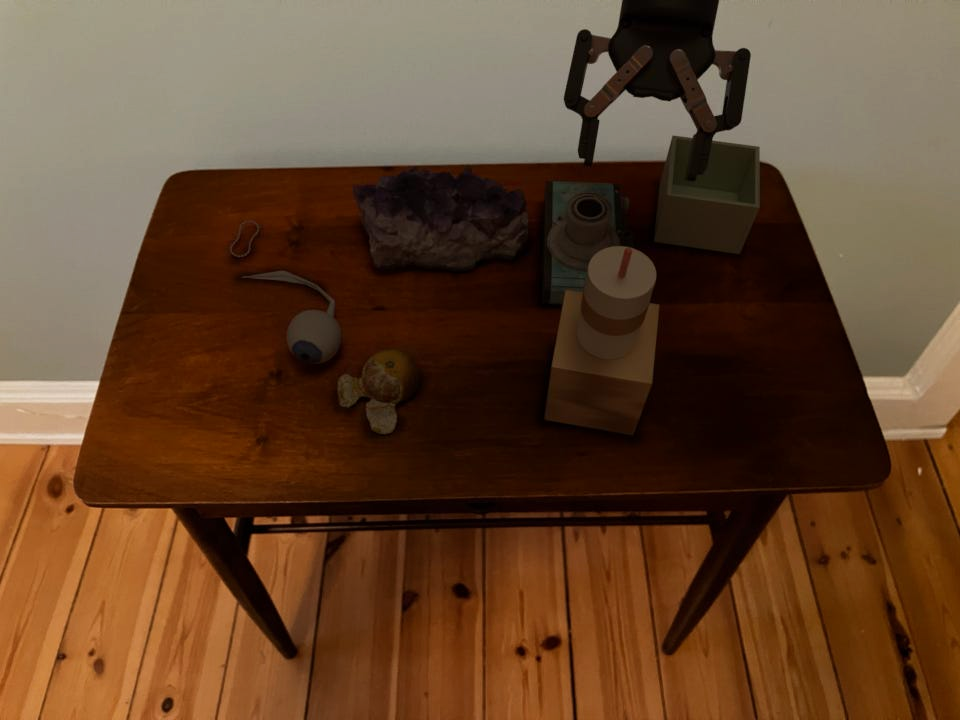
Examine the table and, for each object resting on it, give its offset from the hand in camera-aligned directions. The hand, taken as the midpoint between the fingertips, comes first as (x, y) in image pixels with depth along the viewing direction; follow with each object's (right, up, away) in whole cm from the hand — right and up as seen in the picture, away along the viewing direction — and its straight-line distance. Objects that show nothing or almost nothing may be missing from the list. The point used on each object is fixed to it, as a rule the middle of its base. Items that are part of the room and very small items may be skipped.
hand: (638, 173), depth 62 cm
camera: (-1, -3, +25) cm, 25 cm away
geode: (-18, -1, +26) cm, 32 cm away
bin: (+13, +2, +28) cm, 31 cm away
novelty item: (-34, -11, +20) cm, 41 cm away
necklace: (-41, -2, +26) cm, 49 cm away
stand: (-2, -19, +15) cm, 24 cm away
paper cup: (-2, -13, +6) cm, 15 cm away
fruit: (-24, -19, +15) cm, 34 cm away
